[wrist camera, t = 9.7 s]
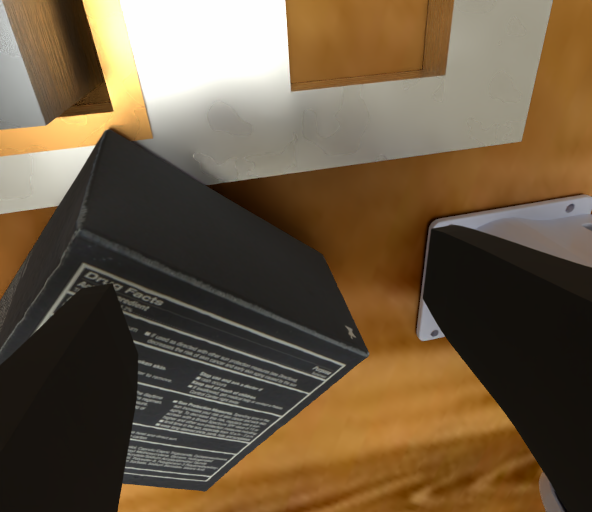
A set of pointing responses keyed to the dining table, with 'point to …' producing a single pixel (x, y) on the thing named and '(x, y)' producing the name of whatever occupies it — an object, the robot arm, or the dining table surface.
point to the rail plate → (277, 95)
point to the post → (43, 60)
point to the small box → (189, 310)
